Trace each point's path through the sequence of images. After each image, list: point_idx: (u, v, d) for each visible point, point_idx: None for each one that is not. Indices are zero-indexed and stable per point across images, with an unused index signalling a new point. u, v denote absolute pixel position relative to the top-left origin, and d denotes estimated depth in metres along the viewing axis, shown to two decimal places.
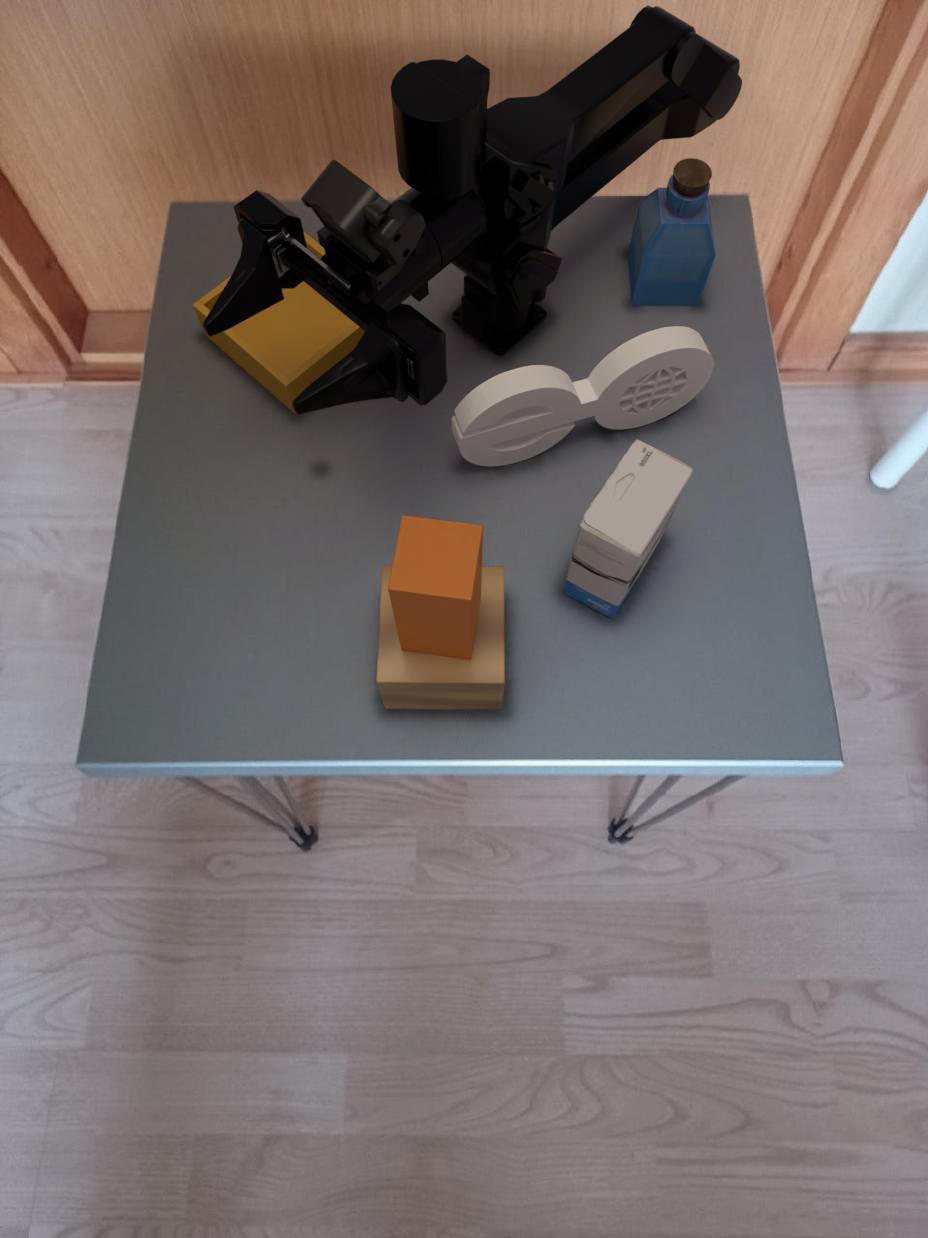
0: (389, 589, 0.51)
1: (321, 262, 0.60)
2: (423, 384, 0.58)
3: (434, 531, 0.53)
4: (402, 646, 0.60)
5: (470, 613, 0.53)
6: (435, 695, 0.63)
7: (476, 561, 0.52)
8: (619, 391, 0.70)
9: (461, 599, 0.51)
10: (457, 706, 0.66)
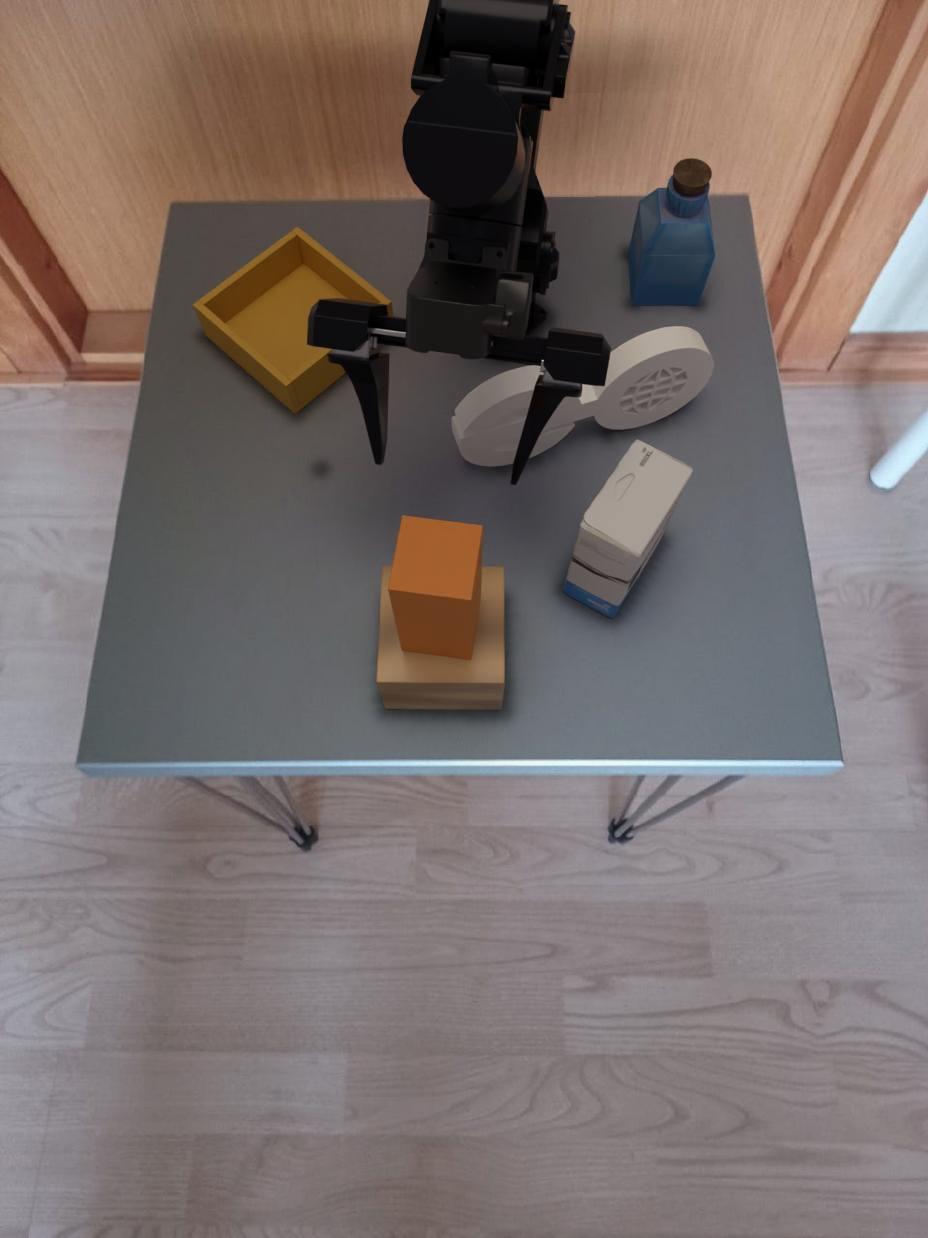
0: (389, 589, 0.51)
1: None
2: None
3: (434, 531, 0.53)
4: (402, 646, 0.60)
5: (470, 613, 0.53)
6: (435, 695, 0.63)
7: (476, 561, 0.52)
8: (619, 391, 0.70)
9: (461, 599, 0.51)
10: (457, 706, 0.66)
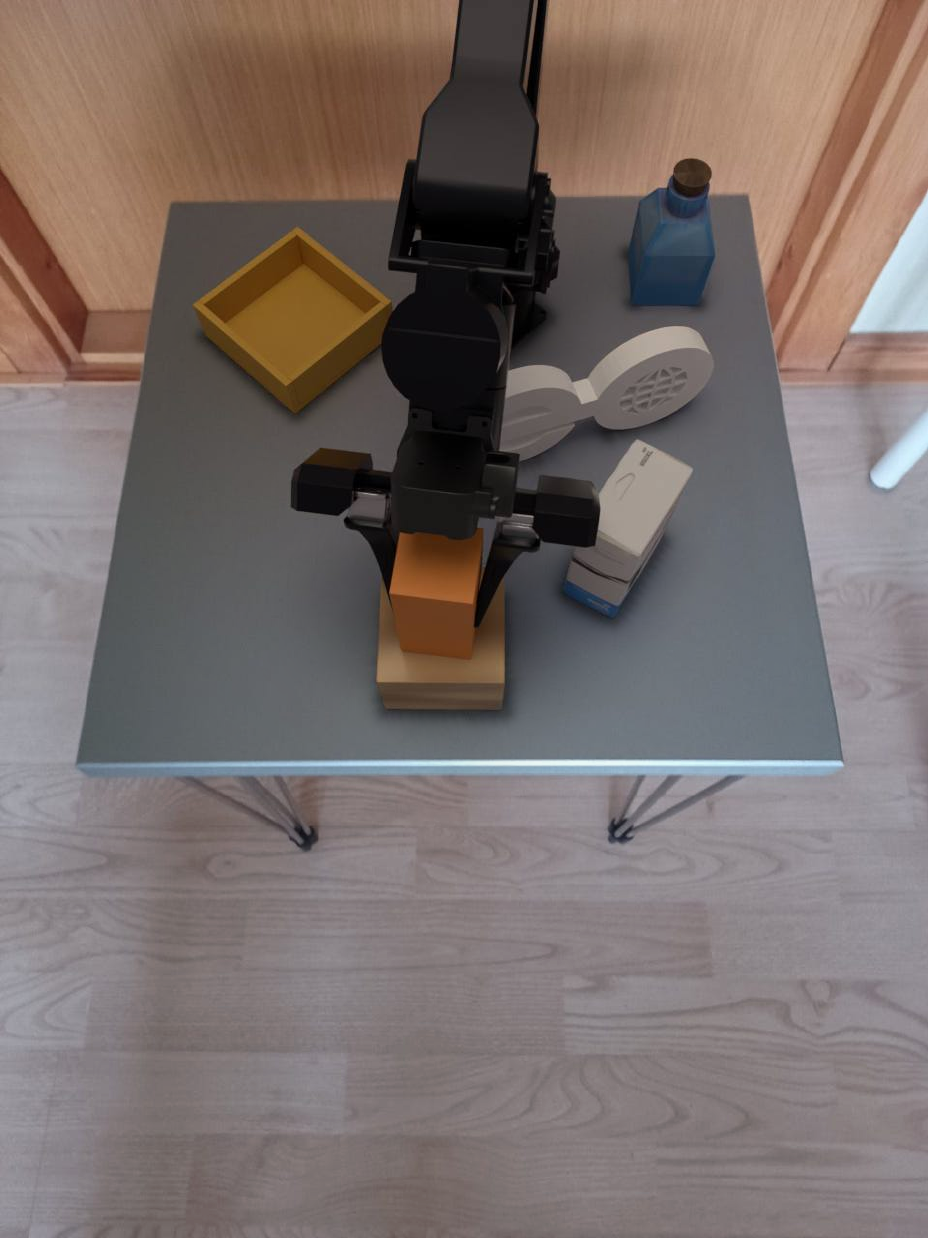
0: (390, 594, 0.51)
1: None
2: None
3: None
4: (402, 647, 0.60)
5: (471, 616, 0.53)
6: (435, 695, 0.63)
7: (477, 564, 0.52)
8: (619, 391, 0.70)
9: (463, 603, 0.51)
10: (457, 706, 0.66)
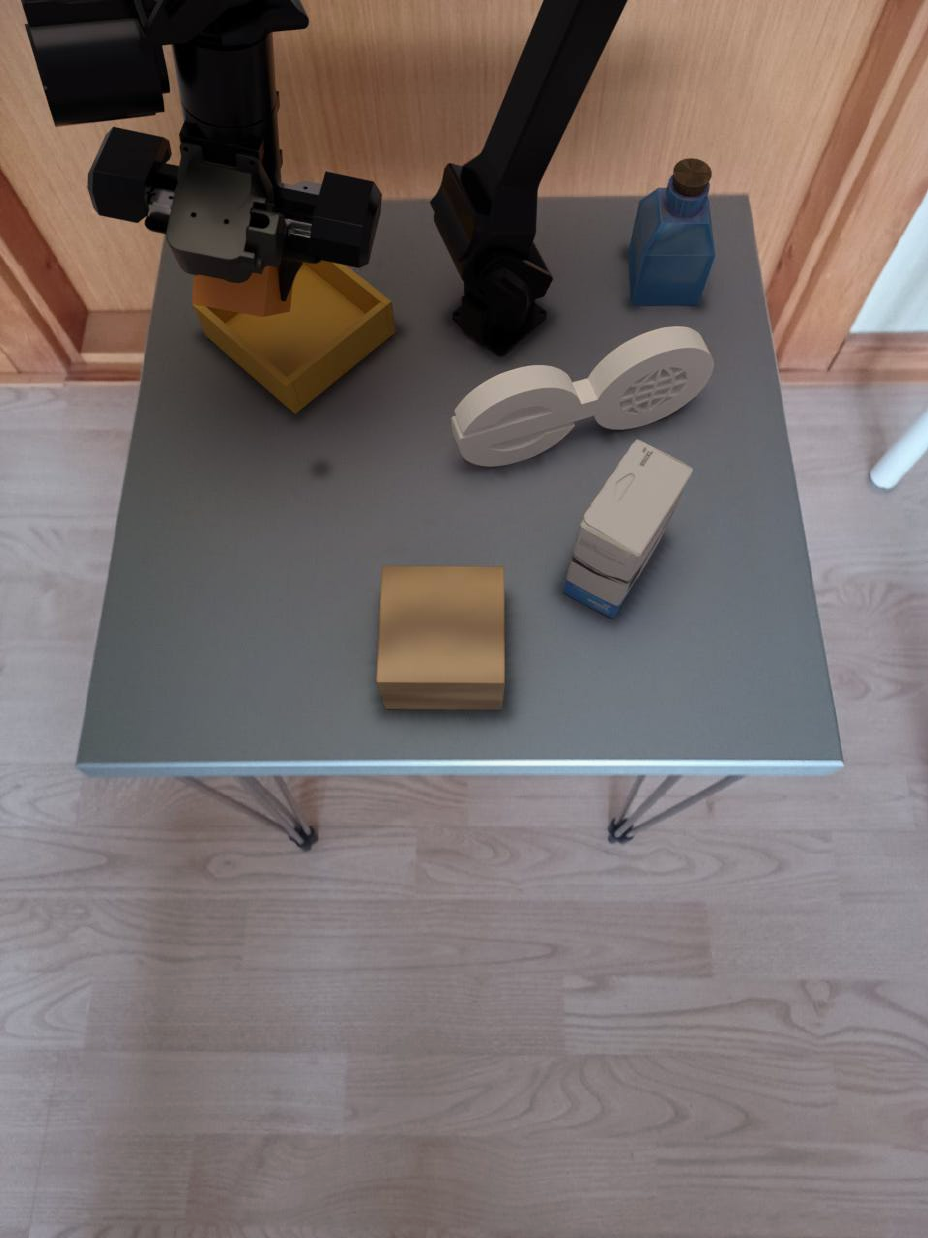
0: None
1: None
2: (374, 235, 0.61)
3: None
4: None
5: (268, 315, 0.63)
6: (435, 695, 0.63)
7: (266, 278, 0.60)
8: (619, 391, 0.70)
9: (255, 315, 0.61)
10: (457, 706, 0.66)
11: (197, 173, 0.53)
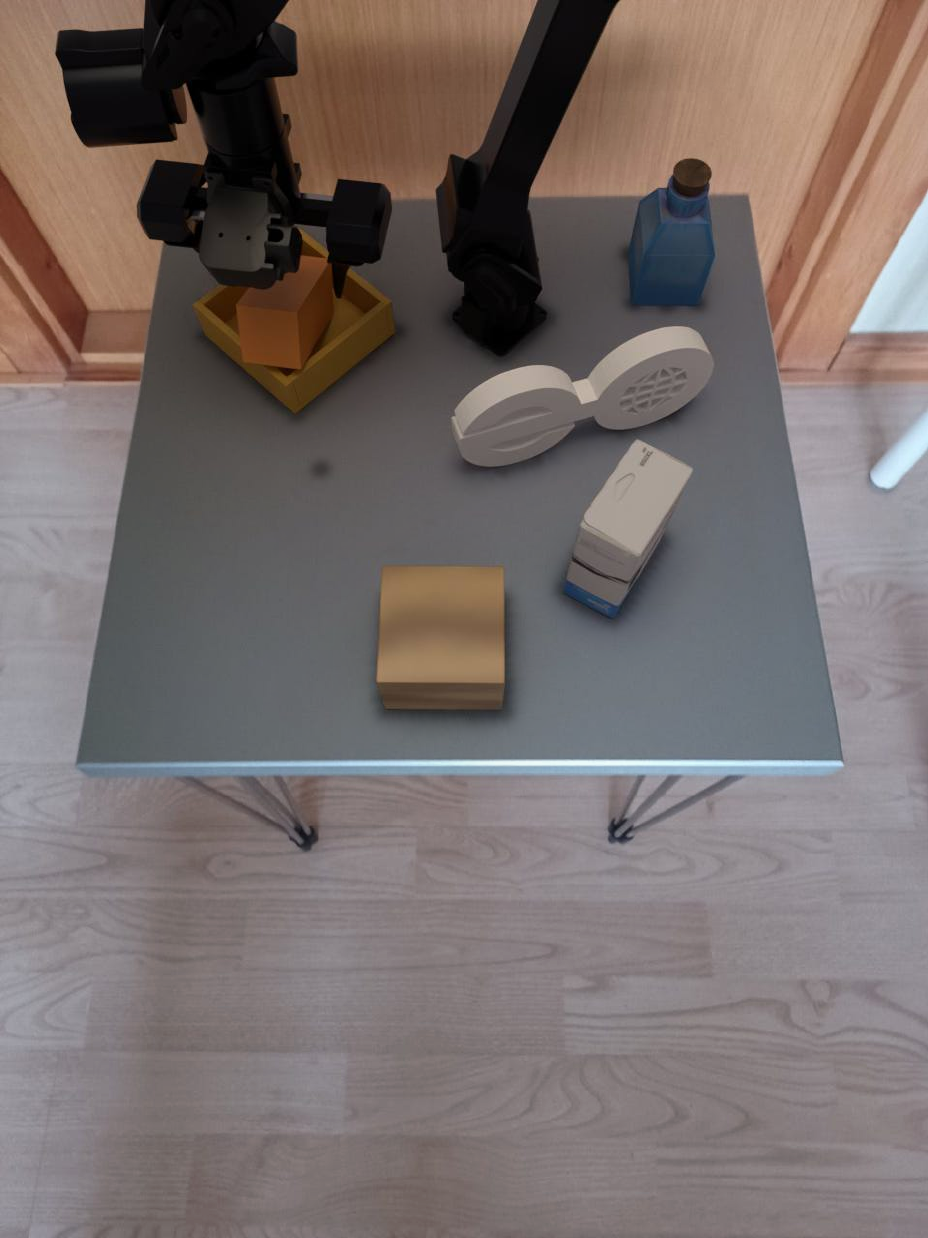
0: None
1: None
2: (386, 231, 0.67)
3: (262, 317, 0.70)
4: None
5: (307, 357, 0.74)
6: (435, 695, 0.63)
7: (298, 340, 0.71)
8: (619, 391, 0.70)
9: (294, 368, 0.72)
10: (457, 706, 0.66)
11: (222, 197, 0.61)
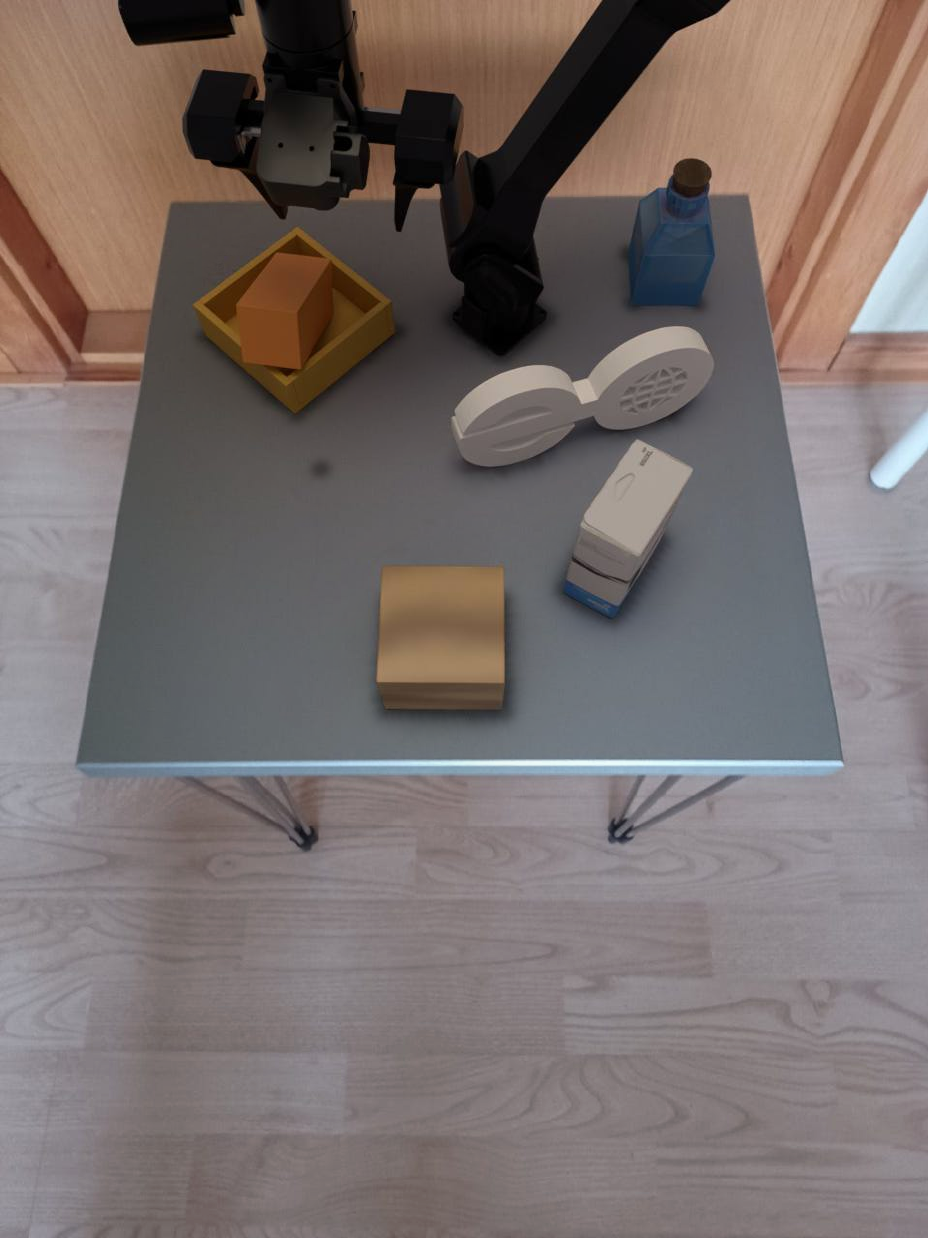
0: None
1: None
2: (458, 150, 0.61)
3: (262, 317, 0.70)
4: None
5: (307, 357, 0.74)
6: (435, 695, 0.63)
7: (298, 340, 0.71)
8: (619, 391, 0.70)
9: (294, 368, 0.72)
10: (457, 706, 0.66)
11: (281, 103, 0.55)
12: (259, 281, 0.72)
